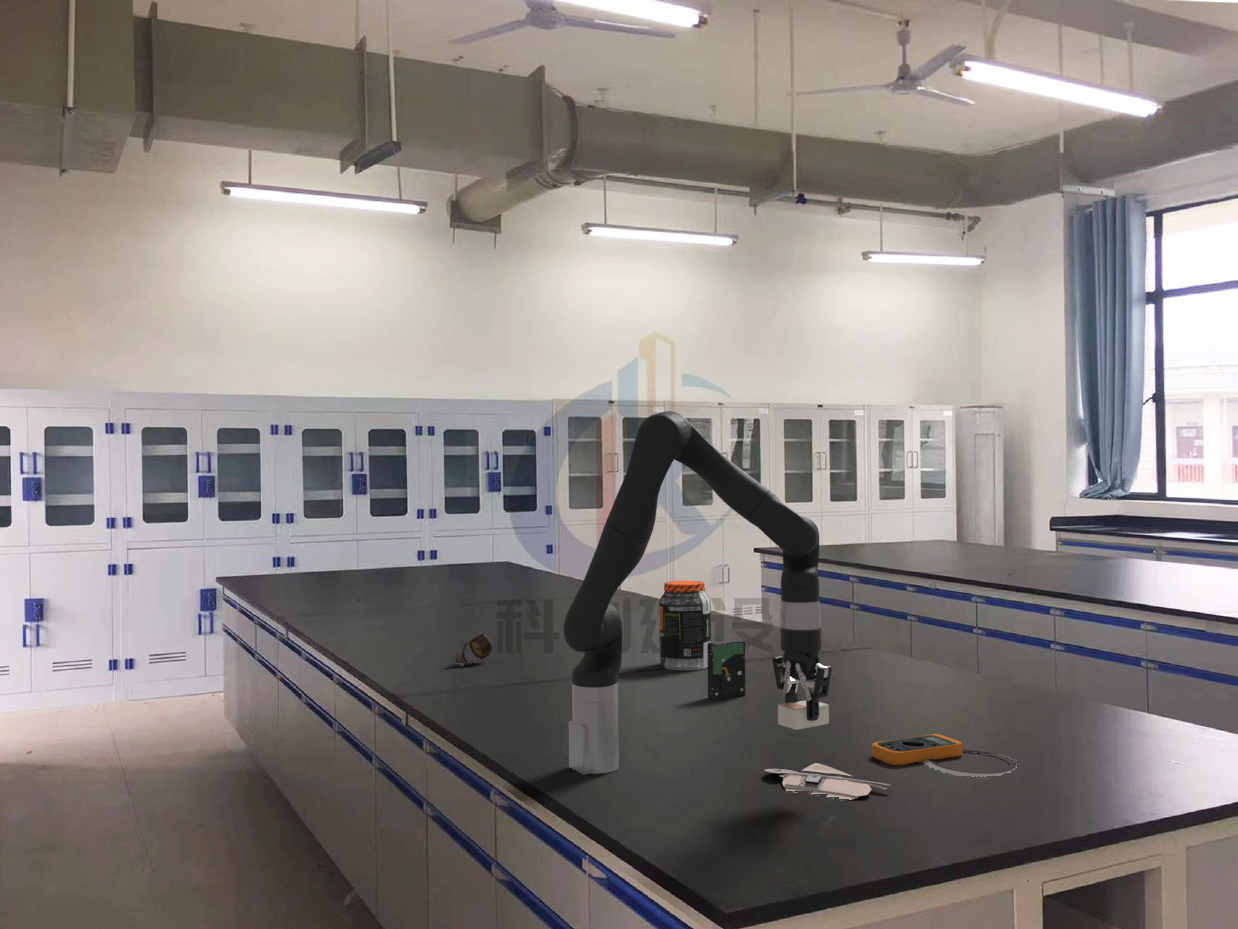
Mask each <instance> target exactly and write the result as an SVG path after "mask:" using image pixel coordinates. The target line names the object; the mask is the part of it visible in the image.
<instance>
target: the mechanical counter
mask: <svg viewBox="0 0 1238 929" xmlns="http://www.w3.org/2000/svg"><path fill="white" fill-rule="evenodd" d="M468 645H469V648H470V650H471V652H472V654H473V655H474V656H475V657H476V658H477V659H482V660H484V659H485V658H487V657H488V656H489V655H490V654H491V652H493V650H494V646H493V642H492V640H491V639H490V637H489V636H487V634H484V633H483V632H476V635H475V636H473V637H472V638H470V639H468V640H467V641H466V642H465V644H464V645H463V647H462V650H461V652H460V651H457V652H456V654H455V662H456V663H457V662H458V663H464V664H465V663H466V662H469V661H468V660H467V659H466V656H465V650H466V648H467V646H468ZM483 658H484V659H483Z"/></svg>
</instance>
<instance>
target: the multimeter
mask: <svg viewBox="0 0 1238 929" xmlns="http://www.w3.org/2000/svg"><path fill="white" fill-rule="evenodd" d="M962 750H963V743H962V742H961V741H959V740H957V739H954V738H951V737H948V736H945V735H942V734H940V733H933V734H927V735H920V736H914V737H907V738H899V739H891V740H883V741H882V740H881V741H876V742H873V743H872V744H871V753H872V756H873V758H874V759H875V758H876V759H875V760H878V761H880V760H881V761H880V762H883V763H884V764H887V763H888V764H887V765H890V764H891V766H905V764H906V765H910V764H909V763H912V764H914V763H913V762H918V763H922V761H925V760H928V759H935V761H936V759H937V760H942V759H949V757H951V758H958V757H961V756H962V754H963V753H962ZM960 755H961V756H960Z"/></svg>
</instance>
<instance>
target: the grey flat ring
mask: <svg viewBox="0 0 1238 929" xmlns="http://www.w3.org/2000/svg"><path fill="white" fill-rule="evenodd" d="M962 752H963V753H962V754H965V753H964V752H970V753H969V754H971V753H973V752H977V753H979V754H978V755H980V754H982V753H985V754H995V753H992V752H990V751H989V752H987V751H981V750H973V749H972V750H971V749H962ZM980 752H981V753H980ZM998 755H999V756H1000V757H1005V755H1002V754H998ZM1001 755H1002V756H1001ZM999 756H998V757H999ZM1010 758H1011V757H1009V758H1007V759H1008V760H1012V759H1013V758H1012V759H1010ZM923 762H925V765H928V766H929V769H931V768H934V770H933V771H935V770H940V771H941V772H940V773H942V772H943V774H945V773H949V774H948V775H950V774H952V775H951V776H955V777H962V776H971V777H975V776H976V777H978V776H979V777H983V776H984V777H987V776H1001V775H1003V774H1004V773H1011V771H1012V770H1015V768H1017V766H1015V767H1012V768H1014V769H1009V771H1004V770H1003V771H1004V772H1001V771H996V772H969V771H962V770H955V769H952V768H948V767H945V766H942V765H940V764H938V763H937V762H936V760H935V759H928V760H925V761H923ZM1012 762H1015V761H1012ZM925 765H924V766H925ZM1014 765H1017V764H1015V763H1014Z"/></svg>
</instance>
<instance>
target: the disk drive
mask: <svg viewBox="0 0 1238 929" xmlns="http://www.w3.org/2000/svg"><path fill="white" fill-rule="evenodd" d="M746 687H747V686H746V642H745V640H742V639H741V640H740V639H739V640H738V639H737V640H724V641H711V642H708V668H707V698H708V699H709V700H713V701H714V700H721V699H729V698H730V699H731V698H733V697H738V696H739V697H745V696H746V691H747V690H746Z"/></svg>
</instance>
